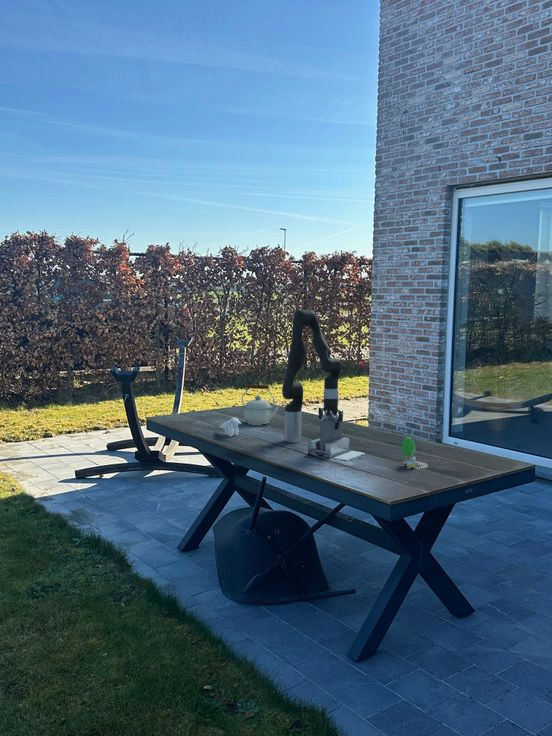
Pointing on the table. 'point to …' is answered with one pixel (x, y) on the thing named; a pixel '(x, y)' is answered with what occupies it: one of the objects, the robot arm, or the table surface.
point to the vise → (329, 447)
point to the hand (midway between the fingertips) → (330, 428)
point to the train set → (410, 453)
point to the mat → (349, 455)
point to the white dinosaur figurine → (231, 427)
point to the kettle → (258, 408)
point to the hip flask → (329, 432)
